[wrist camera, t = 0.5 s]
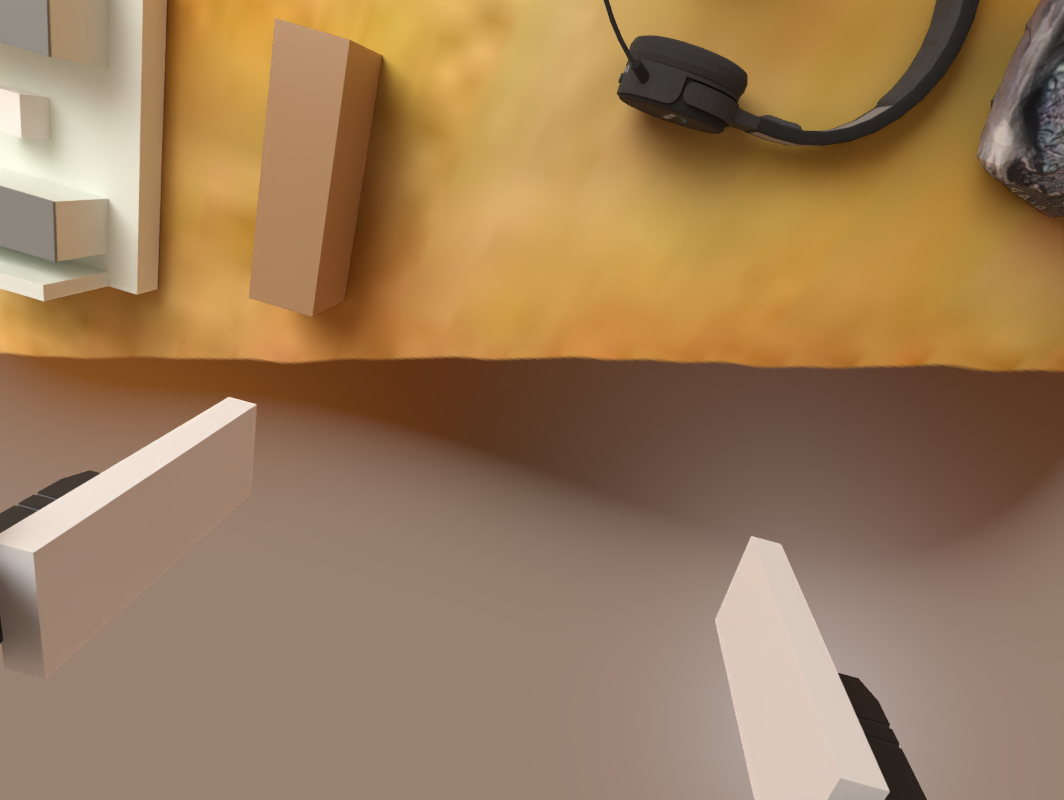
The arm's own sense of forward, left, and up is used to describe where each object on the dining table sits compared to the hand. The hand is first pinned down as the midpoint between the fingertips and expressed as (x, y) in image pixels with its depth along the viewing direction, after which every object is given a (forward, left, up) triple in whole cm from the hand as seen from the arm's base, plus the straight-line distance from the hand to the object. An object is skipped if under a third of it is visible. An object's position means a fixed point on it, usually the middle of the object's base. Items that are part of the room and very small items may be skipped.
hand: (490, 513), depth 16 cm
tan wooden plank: (-4, -16, -26) cm, 31 cm away
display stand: (-3, -34, -26) cm, 43 cm away
